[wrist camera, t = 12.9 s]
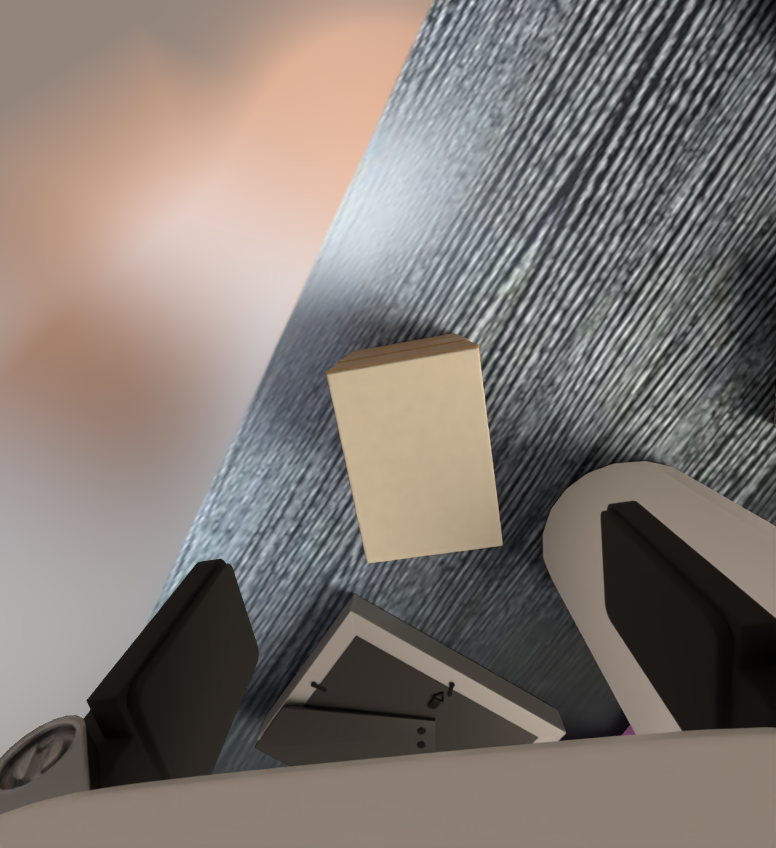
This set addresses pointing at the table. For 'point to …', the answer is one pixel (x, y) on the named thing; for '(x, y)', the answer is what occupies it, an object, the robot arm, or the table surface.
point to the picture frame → (395, 698)
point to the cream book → (418, 451)
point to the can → (684, 515)
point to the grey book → (775, 409)
